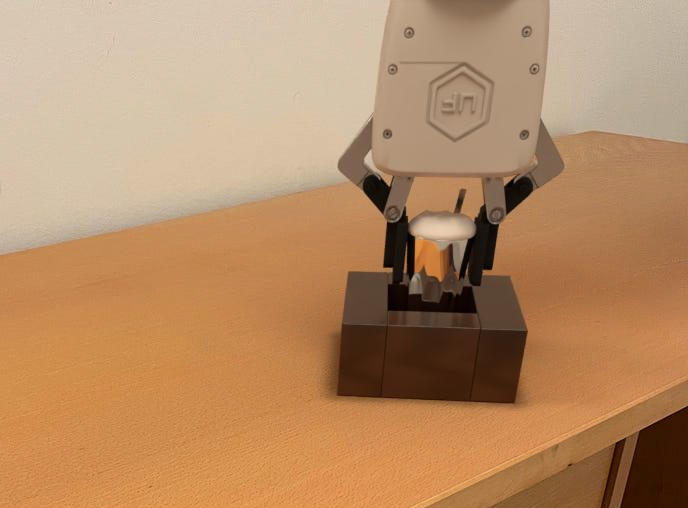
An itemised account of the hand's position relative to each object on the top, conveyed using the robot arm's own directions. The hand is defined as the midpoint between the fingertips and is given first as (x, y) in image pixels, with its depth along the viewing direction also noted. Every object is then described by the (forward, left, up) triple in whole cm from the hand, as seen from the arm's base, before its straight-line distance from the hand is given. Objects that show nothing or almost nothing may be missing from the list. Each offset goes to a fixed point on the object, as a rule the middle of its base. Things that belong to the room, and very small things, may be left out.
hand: (435, 276), depth 67 cm
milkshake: (0, 0, -5) cm, 5 cm away
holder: (0, 0, -6) cm, 6 cm away
